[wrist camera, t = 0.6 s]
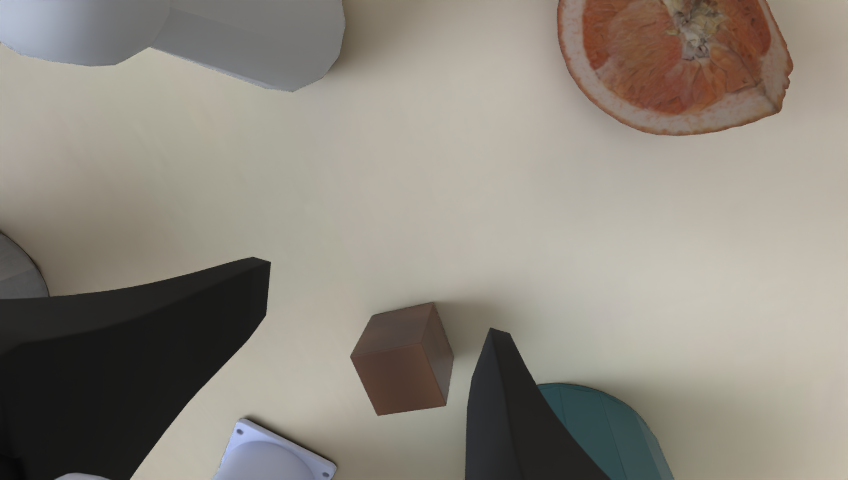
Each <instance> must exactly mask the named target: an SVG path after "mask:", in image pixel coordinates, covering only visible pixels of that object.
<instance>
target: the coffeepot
mask: <svg viewBox="0 0 848 480" xmlns="http://www.w3.org/2000/svg"><path fill="white" fill-rule="evenodd" d="M39 297H49V296H48V291H47V288H46V285H45V283H44V280H43V278H42V276H41V274H40V272H39V271H38V269H37V267H36V266H35V264H34V263H33V262H32V261H31V259H30V258H29V257H28V255H27V254H26V253H25V252H24V251H23V250H22V249H21V248H20V247H19V246H18V245H16V244H15V243H14V242H13V241H11V240H10V239H9V238H8V237H6V236H5V235H3V234H1V233H0V299H17V298H39Z"/></svg>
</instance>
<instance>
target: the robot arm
mask: <svg viewBox="0 0 848 480" xmlns="http://www.w3.org/2000/svg"><path fill="white" fill-rule="evenodd" d="M270 266H271V262H269V261H265V260H262V259H259V258H255V257H250V258H245V259H241V260H237V261H233V262H229V263H226V264H222V265H219V266H215V267H212V268H208V269H205V270H201V271H198V272H194V273H190V274H186V275H182V276H178V277H174V278H170V279H166V280H162V281H158V282H154V283H149V284H144V285H139V286H134V287H128V288H122V289H116V290H109V291H102V292H93V293H84V294H75V295H66V296H54V297H39V298H17V299H0V480H130V478H131V477H132V476H133V474H134V473H135V471H136V470H137V469H138V467H139V466H140V464H141V463H142V462H143V460H144V459H145V458H146V456H147V455H148V454H149V452H150V451H151V450H152V448H153V447H154V446H155V444H156V443H157V442H158V440H159V439H160V438H161V436H162V435H163V434H164V432H165V431H166V430H167V429H168V427H169V426H170V425H171V423H172V422H173V421H174V420H175V418H176V417H177V416H178V415H179V413H180V412H181V411H182V410H183V408H184V407H185V406H186V405H187V403H188V402H189V401H190V400H191V399H192V398H193V397H194V396H195V394H196V393H197V392H198V391H199V390H200V389H201V388H202V387H203V386H204V385H205V384H206V383H207V382H208V381H209V380H210V379H211V378H212V377H213V376H214V375H215V374H216V373H217V372H218V371H219V370H220V369H221V367H222V366H223V365H224V364H225V363H226V362H227V361H228V360H229V359H230V358H231V357H232V356H233V355H234V354H235V353H236V352H237V351H238V350H239V349H240V348H241V347H242V346H243V345H244V344H245V342H246V341H247V340H248V339H249V338H250V337H251V335H252V334H253V333H254V331H255V330H256V329H257V327H258V326H259V324H260V323H261V321H262V320H263V319H264V317H265V316H266V310H267V299H268V288H269V277H270ZM335 471H336V466H335V464H334V463H332V462H330V461H328V460H326V459H324V458H322V457H320V456H318V455H316V454H314V453H312V452H310V451H308V450H306V449H304V448H302V447H300V446H298V445H296V444H294V443H292V442H290V441H288V440H286V439H284V438H282V437H280V436H278V435H277V434H275V433H273V432H271V431H269V430H267V429H265V428H263V427H261V426H259V425H257V424H255V423H253V422H251V421H249V420H247V419H242V418H241V419H239V420H238V422H237V423H236V425H235V427H234V430H233V433H232V435H231V438H230V440H229V443H228V446H227V448H226V451H225V453H224V456H223V459H222V461H221V464H220V467H219V469H218V471H217V472H216V474H215V475H214V477H213V478H212V479H211V480H331V478H332V477H333V475H334V473H335ZM465 480H611V479H610V478H609V477H608V476H607V474H606V473H605V472H604V471H603V470H602V469H601V468H600V467H599V466H598V465H597V464H596V463H595V462H594V461H593V460H592V458H591V457H590V456H589V455H588V454H587V453H586V452H585V451H584V450H583V448H582V447H581V446H580V445H579V444H578V443H577V441H576V440H575V439H574V438H573V437H572V435H571V434H570V433H569V431H568V430H567V429H566V428H565V426H564V425H563V424H562V422H561V421H560V420H559V418H558V417H557V416H556V414H555V413H554V411H553V410H552V409H551V407H550V406H549V404H548V403H547V401H546V399H545V398H544V396H543V395H542V393H541V392H540V390H539V388H538V387H537V385H536V383H535V381H534V380H533V378H532V376H531V374H530V373H529V371H528V369H527V367H526V365H525V363H524V361H523V359H522V357H521V355H520V353H519V351H518V349H517V347H516V345H515V343H514V341H513V339H512V337H511V335H510V333H507V332H503V331H500V330H497V329H493V328H490V329H489V332H488V335H487V337H486V340H485V343H484V346H483V348H482V351H481V354H480V357H479V359H478V362H477V365H476V368H475V371H474V373H473V376H472V380H471V386H470V392H469V399H468V406H467V428H466V464H465Z"/></svg>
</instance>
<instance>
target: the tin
mask: <svg viewBox="0 0 848 480" xmlns="http://www.w3.org/2000/svg"><path fill="white" fill-rule="evenodd" d="M537 387H538V388H539V390H540V392H541V393H542V395H543V396H544V398H545V399H546V401H547V403H548V404H549V406H550V407H551V409H552V410H553V411H554V413H555V414H556V416H557V417H558V418H559V420H560V421H561V422H562V424H563V425H564V426H565V428H566V429H567V430H568V431H569V433H570V434H571V435H572V437H573V438H574V439H575V440H576V441H577V443H578V444H579V445H580V446H581V447H582V448H583V450H584V451H585V452H586V453H587V454H588V455H589V456H590V457H591V458H592V460H593V461H594V462H595V463H596V464H597V465H598V466H599V467H600V468H601V469H602V470H603V471H604V472H605V473H606V474H607V476H608V477H609V478H610V479H611V480H674V478H673V476H672V473H671V471H670V469H669V466H668V464H667V462H666V460H665V457H664V455H663V453H662V450H661V448H660V446H659V444H658V441H657V439H656V437H655V436H654V435H653V433H652V432H651V431H650V429H649V427H648V426H647V424H646V423H645V422H644V420H643V419H642V418H641V417H640V416H639V415H638V414H637V413H636V412H635V411H634V410H633V409H631V408H630V407H629V406H628V405H626V404H625V403H623V402H622V401H620V400H618V399H616V398H615V397H613V396H610V395H608V394H606V393H604V392H601V391H598V390H595V389H592V388H588V387H583V386H578V385H569V384H544V385H537Z"/></svg>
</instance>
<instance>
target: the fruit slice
mask: <svg viewBox="0 0 848 480" xmlns="http://www.w3.org/2000/svg"><path fill="white" fill-rule="evenodd" d="M557 22H558V39H559V44H560V48H561V52H562V54H563V57H564V60H565V62H566V66H567V68H568V71H569V73H570V75H571V76H572V78H573V79H574V81H575V82H576V84H577V85H578V87H579V88H580V89H581V90H582V91H583V93H584V94H585V95H586V96H587V97H588V98H589V100H591V101H592V102H593V103H594V104H595V105H597V106H598V107H599V108H600V109H602V110H603V111H604V112H606V113H607V114H609V115H610V116H612V117H613V118H615V119H616V120H618V121H619V122H621V123H623V124H625V125H628V126H630V127H632V128H635V129H637V130H640V131H643V132H646V133H652V134H656V135H670V136H685V135H696V134H705V133H710V132H718V131H722V130H726V129H729V128H731V127H738V126H743V125H746V124H748V123H752V122H755V121H758V120H760V119H762V118H764V117H767V116H771V115H774V114H776V113H779V112H780V111H781V109H782V101H783V98H784V97H785V93H786V91H785V89H788V87H789V84H790V80H789V78H788V76H789V74H790V73H791V72H792V70H793V62H792V59H791V57H790V54H789V52H788V50H787V44H786V42H785V40H784V38H783V36H782V34H781V32H780V30H779V27H778V25H777V23H776V21H775V19H774V17H773V15H772V13H771V11H770V8H769V5H768V3H767V1H766V0H559V5H558V9H557Z"/></svg>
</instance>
